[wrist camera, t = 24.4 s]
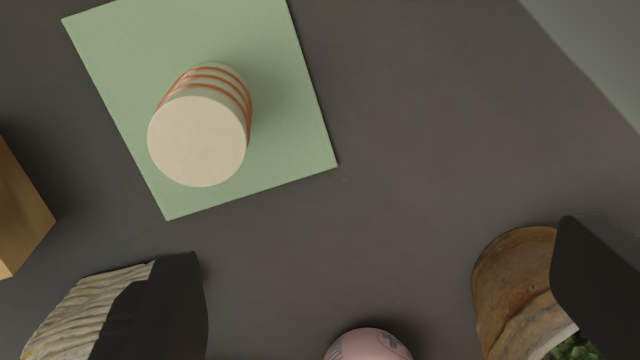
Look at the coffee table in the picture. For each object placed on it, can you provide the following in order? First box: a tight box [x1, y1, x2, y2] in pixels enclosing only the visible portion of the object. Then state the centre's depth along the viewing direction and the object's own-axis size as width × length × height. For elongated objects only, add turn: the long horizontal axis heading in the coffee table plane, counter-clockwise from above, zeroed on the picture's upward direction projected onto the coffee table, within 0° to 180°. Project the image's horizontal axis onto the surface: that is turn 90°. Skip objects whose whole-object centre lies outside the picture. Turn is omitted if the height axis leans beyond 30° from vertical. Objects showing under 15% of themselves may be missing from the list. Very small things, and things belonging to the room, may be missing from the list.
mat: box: [61, 0, 338, 221], centre depth 39 cm, size 18×16×1 cm
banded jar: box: [147, 62, 252, 187], centre depth 34 cm, size 6×6×10 cm
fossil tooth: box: [20, 260, 155, 360], centre depth 41 cm, size 12×6×15 cm
